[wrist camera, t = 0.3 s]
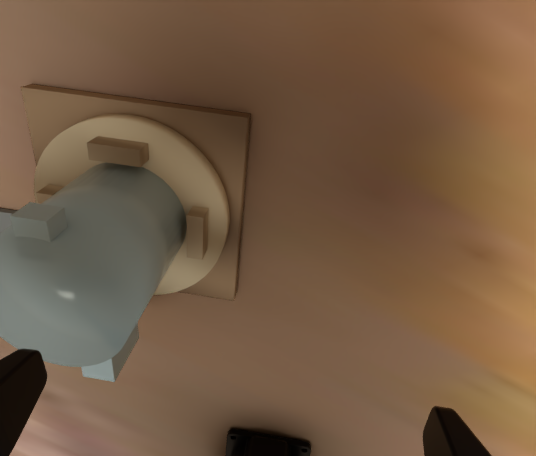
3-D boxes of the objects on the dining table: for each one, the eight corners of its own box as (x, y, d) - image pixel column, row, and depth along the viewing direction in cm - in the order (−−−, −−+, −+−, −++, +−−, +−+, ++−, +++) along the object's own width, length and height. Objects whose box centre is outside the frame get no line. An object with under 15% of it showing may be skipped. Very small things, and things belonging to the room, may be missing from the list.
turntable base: (236, 292, 25) (233, 301, 24) (64, 265, 26) (57, 272, 25) (250, 113, 19) (247, 117, 19) (31, 84, 20) (20, 87, 19)
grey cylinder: (186, 322, 24) (139, 433, 18) (88, 306, 24) (9, 409, 18) (186, 156, 19) (120, 232, 13) (61, 138, 19) (-62, 205, 13)
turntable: (225, 296, 24) (217, 319, 22) (61, 270, 24) (41, 290, 23) (235, 128, 19) (226, 142, 17) (28, 100, 19) (0, 110, 18)
